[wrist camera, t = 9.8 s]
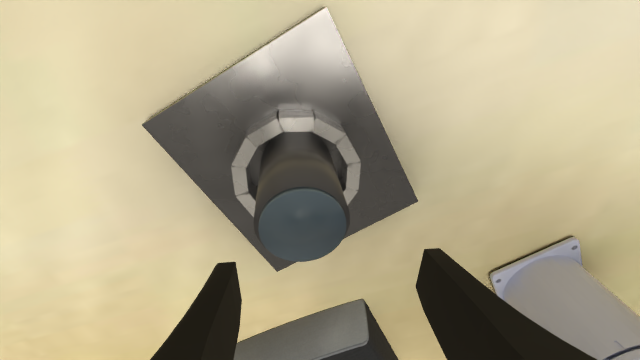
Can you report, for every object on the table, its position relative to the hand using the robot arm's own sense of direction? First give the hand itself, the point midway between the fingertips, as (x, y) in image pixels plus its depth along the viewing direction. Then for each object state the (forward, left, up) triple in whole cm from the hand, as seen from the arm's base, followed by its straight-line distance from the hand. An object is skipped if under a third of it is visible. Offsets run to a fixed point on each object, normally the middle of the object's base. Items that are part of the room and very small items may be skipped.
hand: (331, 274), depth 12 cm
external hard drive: (-20, +13, -11) cm, 26 cm away
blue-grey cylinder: (+1, +1, -9) cm, 9 cm away
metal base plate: (0, +1, -10) cm, 10 cm away
